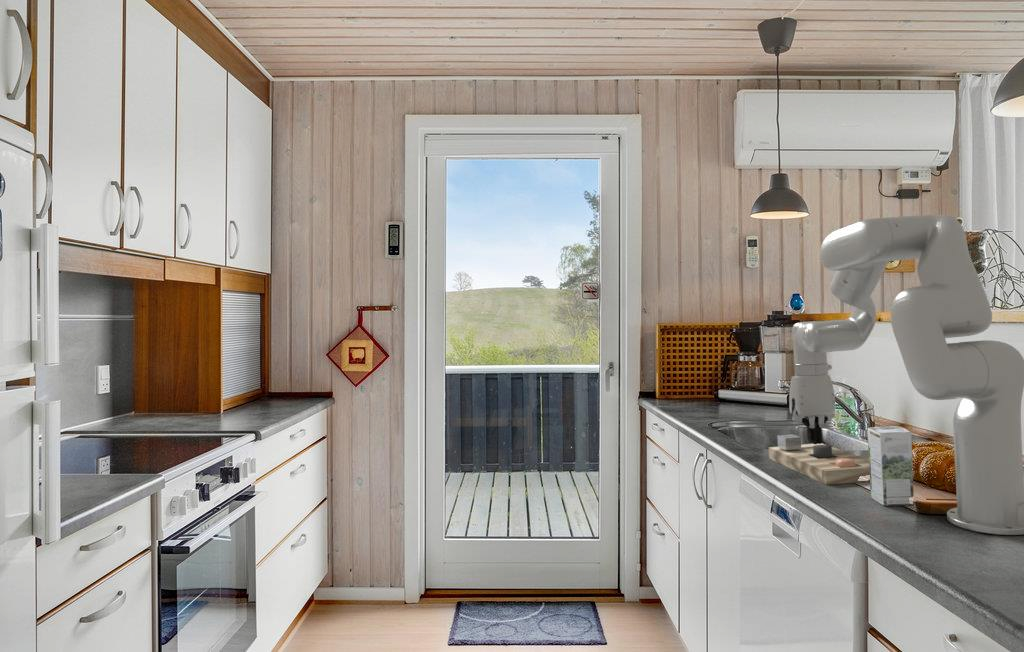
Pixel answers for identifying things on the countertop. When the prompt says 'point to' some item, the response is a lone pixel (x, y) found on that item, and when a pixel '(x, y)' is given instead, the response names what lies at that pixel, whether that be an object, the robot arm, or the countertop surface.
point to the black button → (822, 451)
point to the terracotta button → (844, 462)
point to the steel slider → (789, 442)
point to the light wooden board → (821, 464)
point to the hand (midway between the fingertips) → (815, 442)
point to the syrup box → (890, 465)
